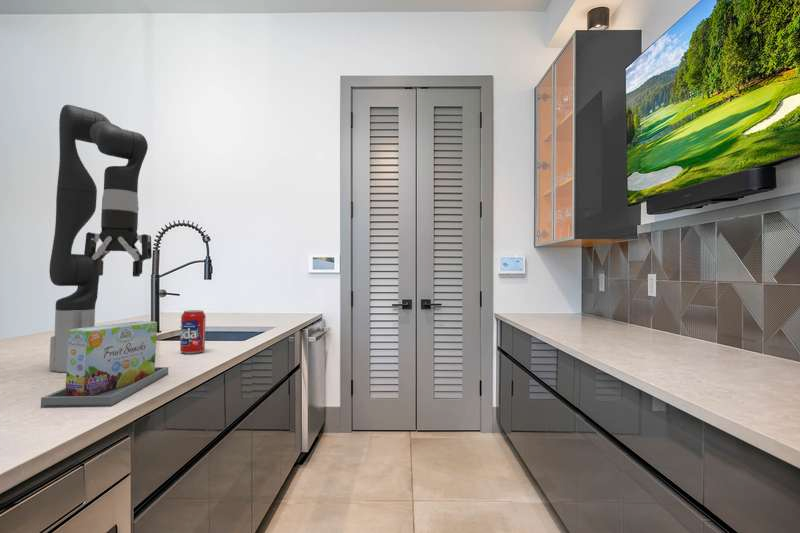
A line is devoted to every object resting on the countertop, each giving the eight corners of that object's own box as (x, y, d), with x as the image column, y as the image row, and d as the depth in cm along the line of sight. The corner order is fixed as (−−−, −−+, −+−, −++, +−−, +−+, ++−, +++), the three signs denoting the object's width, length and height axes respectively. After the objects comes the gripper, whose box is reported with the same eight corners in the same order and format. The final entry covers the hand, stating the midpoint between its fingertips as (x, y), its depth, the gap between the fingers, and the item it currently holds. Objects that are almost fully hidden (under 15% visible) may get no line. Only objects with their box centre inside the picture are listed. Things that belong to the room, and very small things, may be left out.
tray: (40, 407, 89) (40, 397, 89) (115, 374, 118) (116, 367, 118) (111, 406, 91) (111, 396, 91) (168, 374, 120) (168, 367, 120)
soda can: (209, 351, 156) (210, 310, 156) (194, 355, 148) (195, 311, 148) (190, 350, 158) (191, 309, 158) (174, 353, 150) (176, 311, 150)
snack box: (85, 399, 94) (88, 330, 94) (63, 397, 95) (66, 329, 95) (156, 377, 115) (158, 320, 115) (137, 375, 115) (139, 319, 116)
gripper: (79, 206, 101) (76, 275, 100) (144, 209, 103) (141, 276, 102) (97, 211, 108) (95, 275, 108) (157, 213, 110) (155, 276, 110)
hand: (117, 276), depth 105 cm, fingers open, 8 cm apart
